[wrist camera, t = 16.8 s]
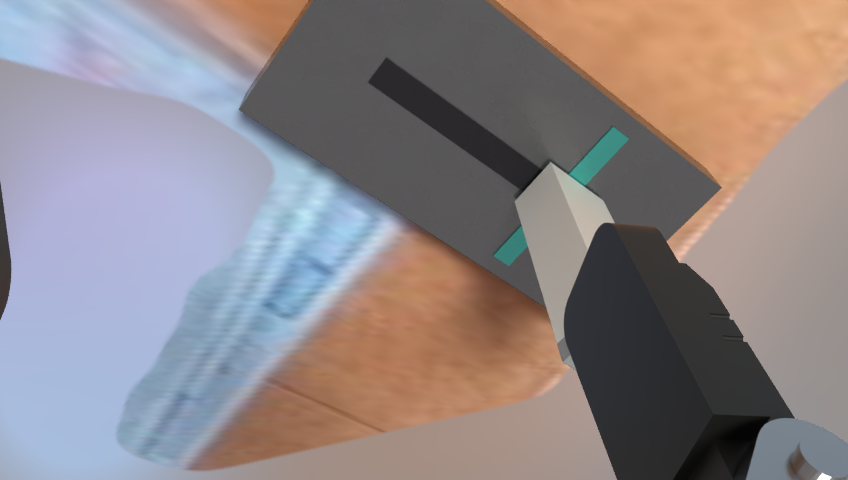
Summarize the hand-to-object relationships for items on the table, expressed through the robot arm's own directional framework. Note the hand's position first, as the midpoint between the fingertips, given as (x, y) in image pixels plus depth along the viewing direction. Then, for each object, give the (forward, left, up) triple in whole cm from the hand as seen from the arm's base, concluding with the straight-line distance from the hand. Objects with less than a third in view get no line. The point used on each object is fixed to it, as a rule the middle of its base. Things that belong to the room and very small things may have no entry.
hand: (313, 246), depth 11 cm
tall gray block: (+12, -13, -30) cm, 35 cm away
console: (+8, -11, -32) cm, 35 cm away
